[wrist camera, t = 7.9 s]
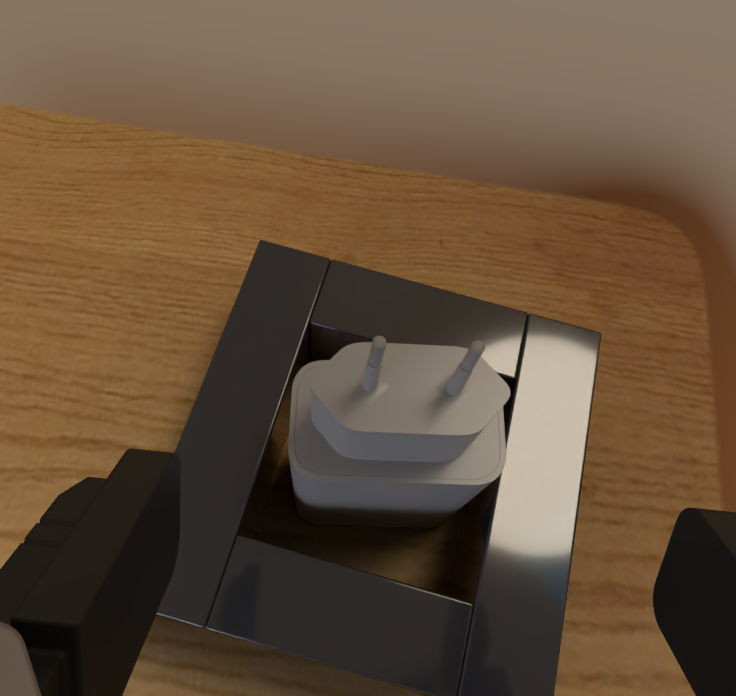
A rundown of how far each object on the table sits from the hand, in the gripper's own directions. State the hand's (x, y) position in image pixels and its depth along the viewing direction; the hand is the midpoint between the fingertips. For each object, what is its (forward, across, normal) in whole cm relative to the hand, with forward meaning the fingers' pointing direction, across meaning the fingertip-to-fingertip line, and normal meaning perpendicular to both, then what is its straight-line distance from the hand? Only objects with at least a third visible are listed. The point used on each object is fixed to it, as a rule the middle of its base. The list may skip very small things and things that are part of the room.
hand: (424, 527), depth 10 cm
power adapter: (+11, 0, +6) cm, 13 cm away
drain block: (+11, 0, +6) cm, 13 cm away
